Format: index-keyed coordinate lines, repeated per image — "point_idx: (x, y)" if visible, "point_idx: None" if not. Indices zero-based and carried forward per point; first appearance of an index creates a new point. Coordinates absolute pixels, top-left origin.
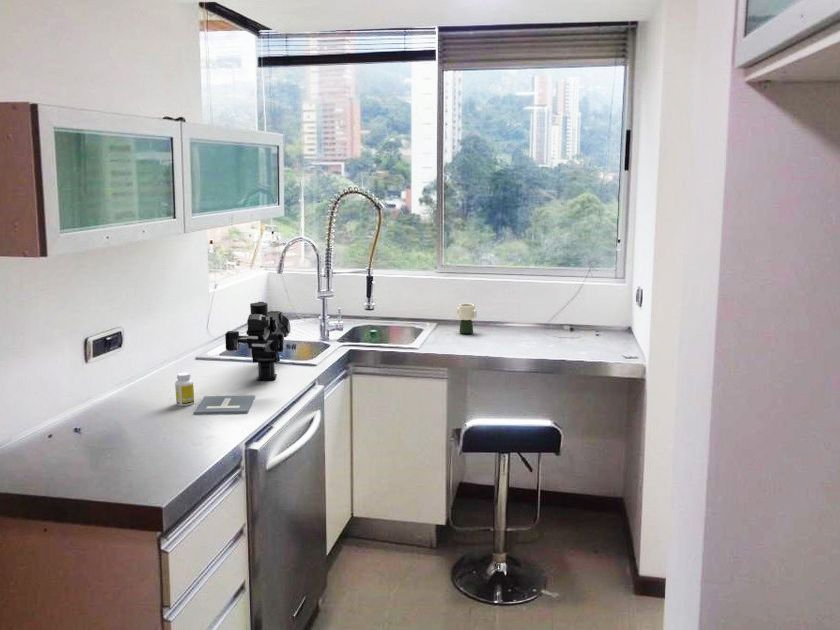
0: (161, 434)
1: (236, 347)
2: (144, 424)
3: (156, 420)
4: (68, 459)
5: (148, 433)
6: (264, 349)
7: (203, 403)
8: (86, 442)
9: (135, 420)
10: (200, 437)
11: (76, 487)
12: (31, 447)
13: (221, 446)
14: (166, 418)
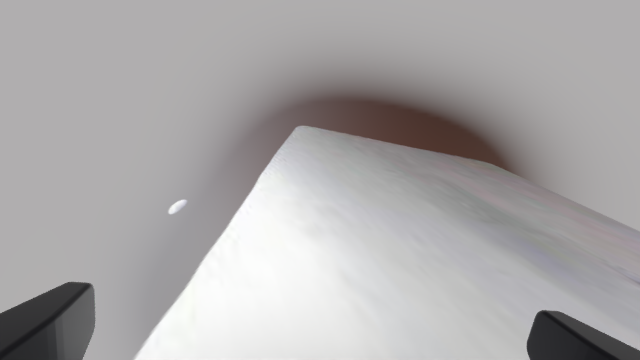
0: (444, 257)
1: (556, 346)
2: None
3: None
4: (514, 203)
5: (482, 265)
6: (85, 301)
7: None
8: (565, 246)
9: None
10: (337, 233)
11: (422, 156)
12: (636, 243)
13: (270, 197)
14: None
